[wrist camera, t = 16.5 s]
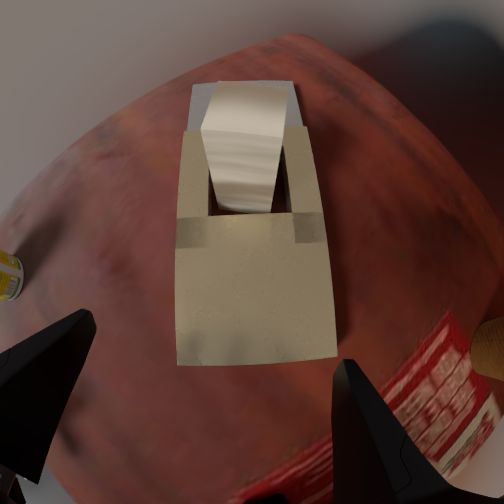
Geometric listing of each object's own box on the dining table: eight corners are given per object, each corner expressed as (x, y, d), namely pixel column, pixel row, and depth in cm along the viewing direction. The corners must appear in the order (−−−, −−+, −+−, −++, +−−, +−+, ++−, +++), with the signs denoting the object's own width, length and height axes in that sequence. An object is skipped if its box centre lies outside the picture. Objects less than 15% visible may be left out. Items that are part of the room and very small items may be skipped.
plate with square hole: (328, 353, 21) (337, 356, 19) (184, 361, 21) (177, 365, 19) (291, 88, 29) (293, 73, 27) (194, 91, 29) (191, 77, 27)
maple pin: (269, 216, 24) (282, 137, 14) (219, 209, 25) (200, 129, 14) (275, 173, 26) (288, 87, 15) (228, 167, 26) (218, 80, 15)
